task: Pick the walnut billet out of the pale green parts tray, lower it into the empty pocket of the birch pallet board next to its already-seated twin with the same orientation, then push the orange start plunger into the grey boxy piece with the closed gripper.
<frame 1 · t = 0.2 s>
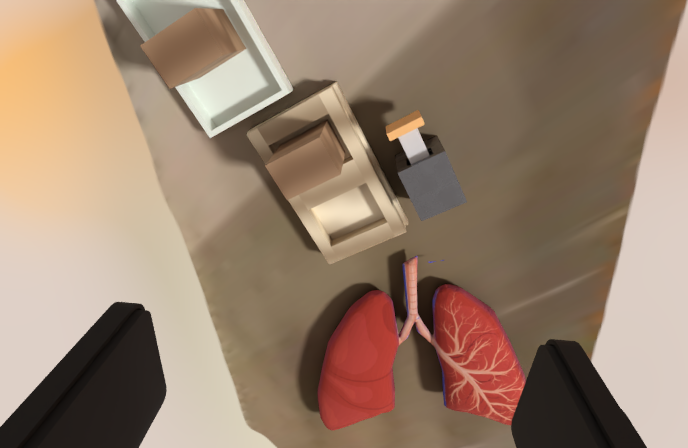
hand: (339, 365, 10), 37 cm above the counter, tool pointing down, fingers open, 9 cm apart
pallet: (332, 176, 47), on the counter
billet B: (211, 44, 41), resting on tote
plunger: (412, 143, 40), point 4 cm above the counter, slide at 0.0 cm
billet A: (312, 148, 44), point 1 cm above the counter, touching pallet
grey boxy piece: (415, 145, 44), on the counter
anatomical model: (414, 337, 58), on the counter
tote: (212, 44, 41), on the counter
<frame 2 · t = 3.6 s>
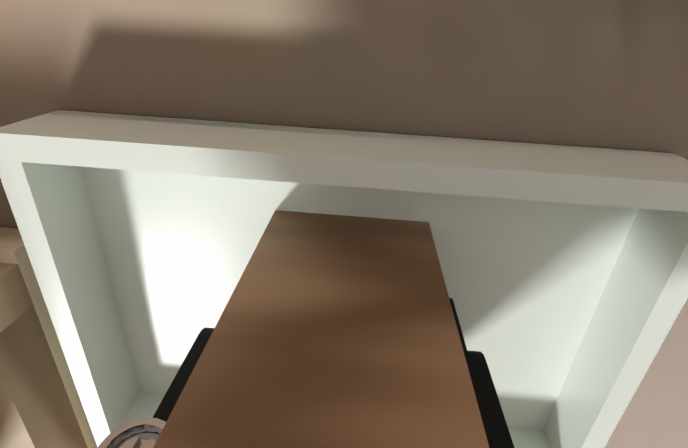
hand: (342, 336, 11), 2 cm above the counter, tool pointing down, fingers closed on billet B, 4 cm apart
billet B: (345, 307, 12), point 1 cm above the counter, touching gripper, tote
tote: (346, 296, 12), on the counter
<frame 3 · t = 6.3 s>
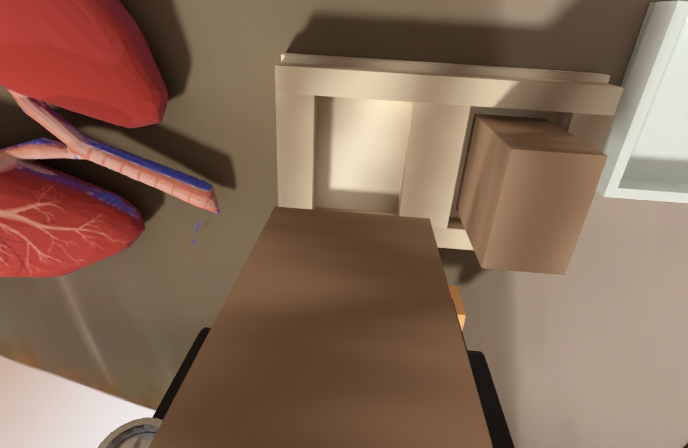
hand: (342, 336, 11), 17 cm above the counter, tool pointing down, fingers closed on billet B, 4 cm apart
pallet: (426, 155, 26), on the counter
billet B: (345, 304, 12), point 16 cm above the counter, touching gripper
plunger: (419, 318, 27), point 4 cm above the counter, slide at 0.0 cm
billet A: (497, 165, 24), point 1 cm above the counter, touching pallet
anatomical model: (16, 100, 26), on the counter
when the fingers open (4 cm above the counter, at t = 9.0 s): billet B drops 1 cm, resting on pallet.
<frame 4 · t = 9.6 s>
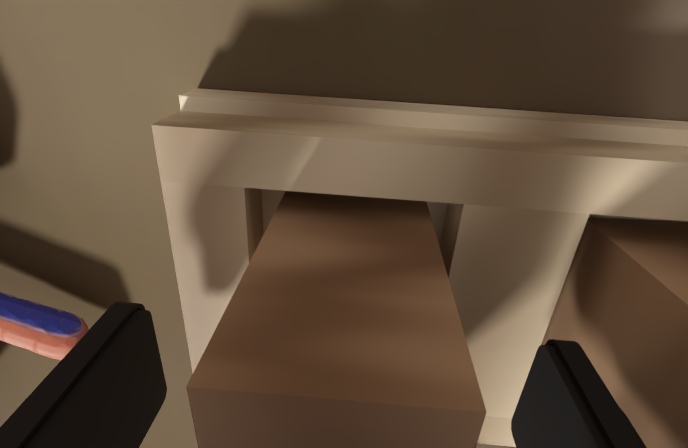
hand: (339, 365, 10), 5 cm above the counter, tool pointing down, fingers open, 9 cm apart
pallet: (471, 271, 14), on the counter
billet B: (350, 279, 13), point 1 cm above the counter, touching pallet
billet A: (615, 306, 13), point 1 cm above the counter, touching gripper, pallet
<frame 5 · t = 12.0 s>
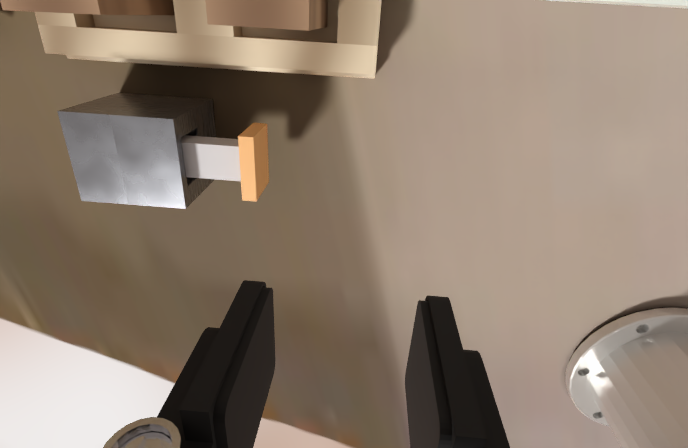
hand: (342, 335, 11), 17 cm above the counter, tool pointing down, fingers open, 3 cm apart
plunger: (220, 158, 23), point 4 cm above the counter, slide at 0.0 cm
grey boxy piece: (216, 138, 26), on the counter
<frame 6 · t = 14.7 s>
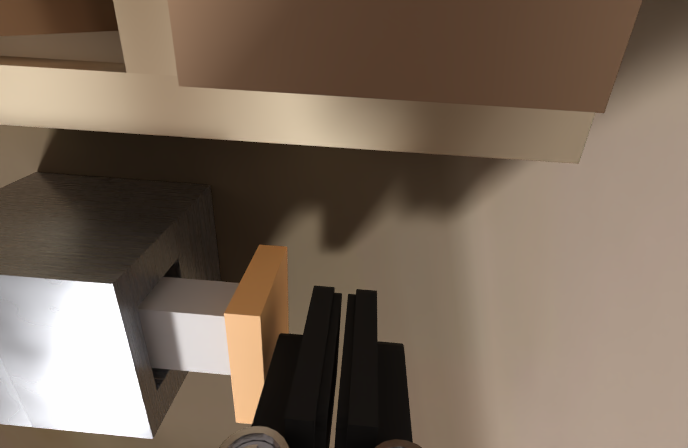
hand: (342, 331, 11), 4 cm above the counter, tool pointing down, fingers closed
plunger: (190, 324, 11), point 4 cm above the counter, slide at 1.0 cm, touching gripper
grey boxy piece: (217, 249, 14), on the counter
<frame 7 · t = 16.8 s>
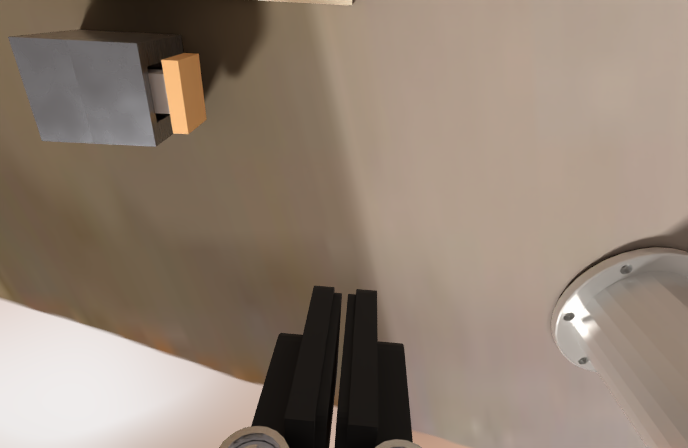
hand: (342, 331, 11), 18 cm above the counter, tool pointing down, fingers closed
plunger: (148, 90, 22), point 4 cm above the counter, slide at 2.3 cm
grey boxy piece: (187, 79, 25), on the counter
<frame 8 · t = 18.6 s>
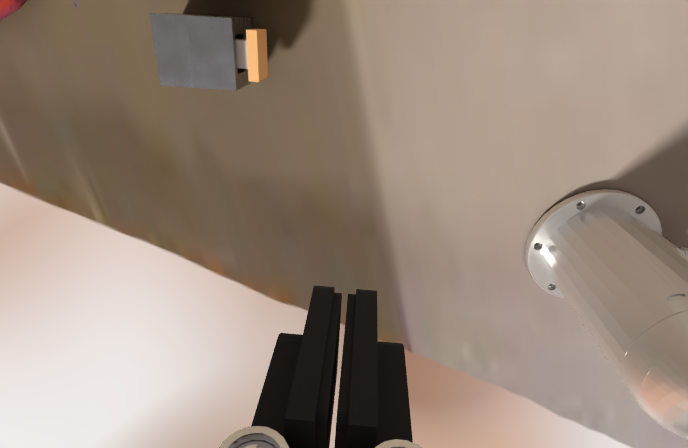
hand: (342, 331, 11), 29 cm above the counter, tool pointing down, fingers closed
plunger: (232, 53, 32), point 4 cm above the counter, slide at 2.3 cm
grey boxy piece: (253, 50, 35), on the counter
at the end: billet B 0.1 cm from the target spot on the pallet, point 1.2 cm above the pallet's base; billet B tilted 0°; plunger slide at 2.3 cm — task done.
